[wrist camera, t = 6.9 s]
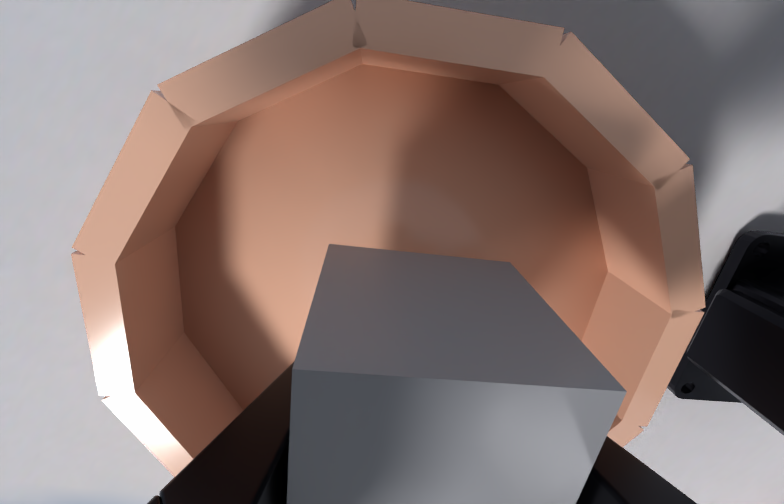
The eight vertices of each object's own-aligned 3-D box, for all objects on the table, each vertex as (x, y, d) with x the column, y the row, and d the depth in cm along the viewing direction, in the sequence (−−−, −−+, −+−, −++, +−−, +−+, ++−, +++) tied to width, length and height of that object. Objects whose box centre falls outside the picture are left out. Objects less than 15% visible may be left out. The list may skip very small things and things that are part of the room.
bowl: (678, 83, 10) (824, 73, 7) (539, 452, 15) (586, 547, 12) (141, -4, 9) (7, -69, 5) (184, 435, 14) (127, 538, 10)
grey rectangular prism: (510, 261, 8) (627, 391, 4) (464, 430, 10) (521, 623, 6) (329, 243, 8) (292, 368, 4) (316, 422, 10) (281, 623, 6)
